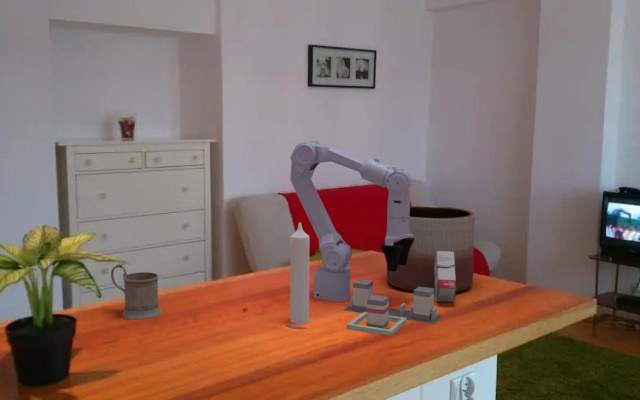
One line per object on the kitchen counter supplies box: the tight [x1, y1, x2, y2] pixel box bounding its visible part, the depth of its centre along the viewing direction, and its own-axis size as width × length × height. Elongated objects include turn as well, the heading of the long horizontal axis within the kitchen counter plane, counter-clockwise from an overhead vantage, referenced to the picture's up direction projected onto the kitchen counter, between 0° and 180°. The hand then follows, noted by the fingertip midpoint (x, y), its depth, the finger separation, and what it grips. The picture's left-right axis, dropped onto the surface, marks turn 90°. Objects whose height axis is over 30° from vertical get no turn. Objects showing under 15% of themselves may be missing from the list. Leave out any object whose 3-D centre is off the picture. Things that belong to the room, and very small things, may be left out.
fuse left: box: [352, 278, 374, 312], centre depth 168 cm, size 4×4×7 cm
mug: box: [110, 263, 163, 320], centre depth 167 cm, size 14×10×12 cm
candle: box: [284, 221, 310, 330], centre depth 157 cm, size 7×7×25 cm
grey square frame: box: [346, 312, 408, 337], centre depth 156 cm, size 11×11×2 cm
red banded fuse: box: [366, 294, 390, 329], centre depth 155 cm, size 4×4×7 cm
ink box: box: [434, 251, 457, 303], centre depth 177 cm, size 9×5×12 cm
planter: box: [386, 205, 475, 295], centre depth 195 cm, size 25×25×22 cm
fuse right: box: [412, 287, 435, 321], centre depth 162 cm, size 4×4×7 cm
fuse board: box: [343, 296, 444, 324], centre depth 165 cm, size 24×7×4 cm, turn 65°
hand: (397, 267), depth 173 cm, fingers open, 7 cm apart
